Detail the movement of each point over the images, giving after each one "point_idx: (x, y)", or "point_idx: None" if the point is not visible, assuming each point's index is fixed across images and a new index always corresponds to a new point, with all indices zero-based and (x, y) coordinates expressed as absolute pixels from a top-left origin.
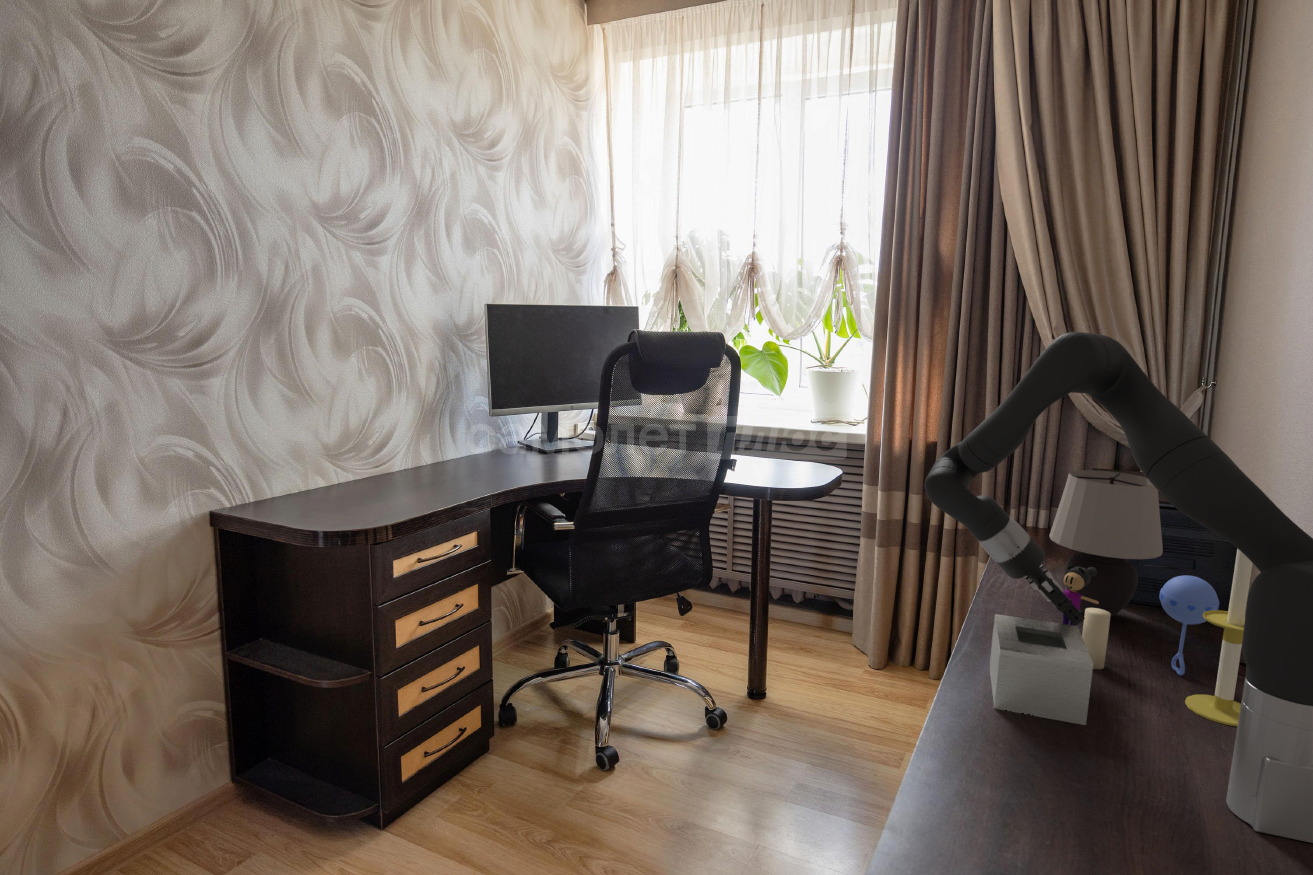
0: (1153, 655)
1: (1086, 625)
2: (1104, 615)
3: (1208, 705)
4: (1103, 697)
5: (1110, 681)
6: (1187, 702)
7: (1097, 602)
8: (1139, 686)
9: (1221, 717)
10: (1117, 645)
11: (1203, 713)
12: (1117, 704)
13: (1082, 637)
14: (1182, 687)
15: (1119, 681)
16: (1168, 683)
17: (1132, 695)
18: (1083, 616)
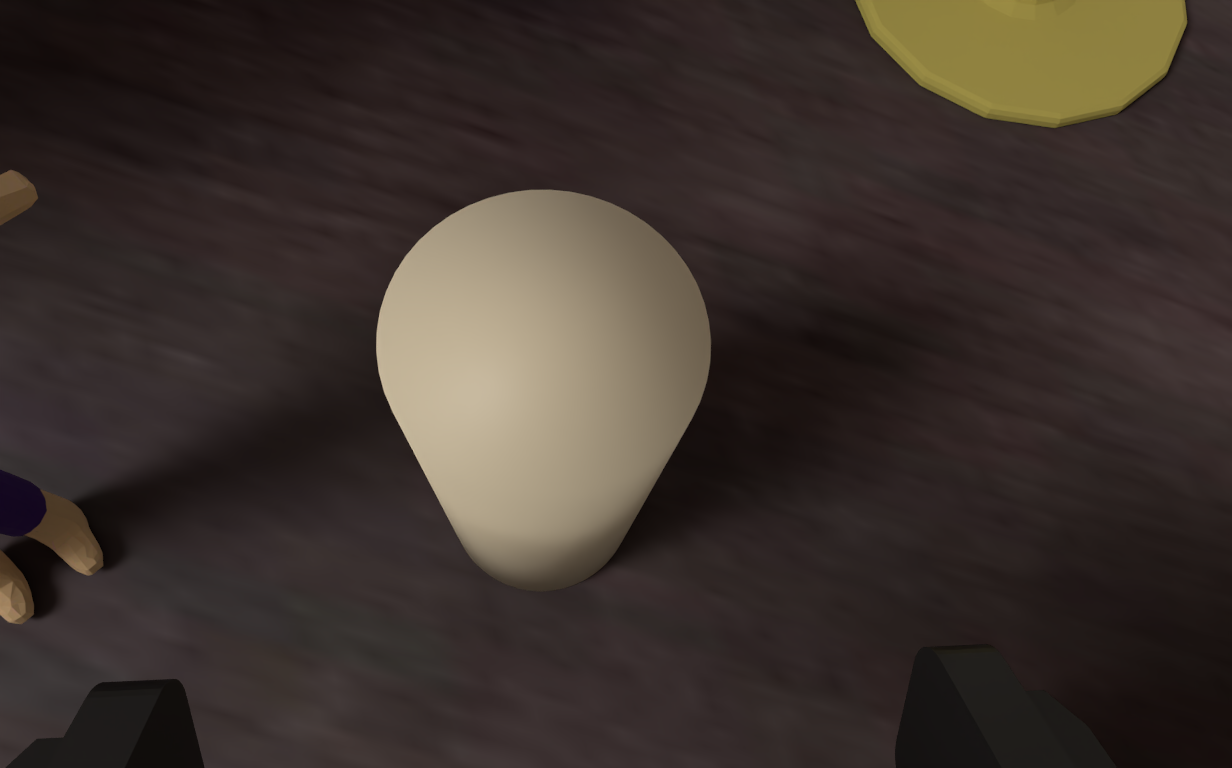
0: (265, 13)
1: (595, 524)
2: (674, 294)
3: (1007, 17)
4: (1129, 598)
5: (827, 458)
6: (1011, 107)
7: (27, 192)
8: (841, 290)
9: (1139, 18)
10: (106, 180)
11: (1127, 84)
12: (1199, 534)
13: (539, 561)
14: (760, 46)
15: (804, 394)
16: (726, 99)
17: (1008, 385)
18: (1000, 665)
